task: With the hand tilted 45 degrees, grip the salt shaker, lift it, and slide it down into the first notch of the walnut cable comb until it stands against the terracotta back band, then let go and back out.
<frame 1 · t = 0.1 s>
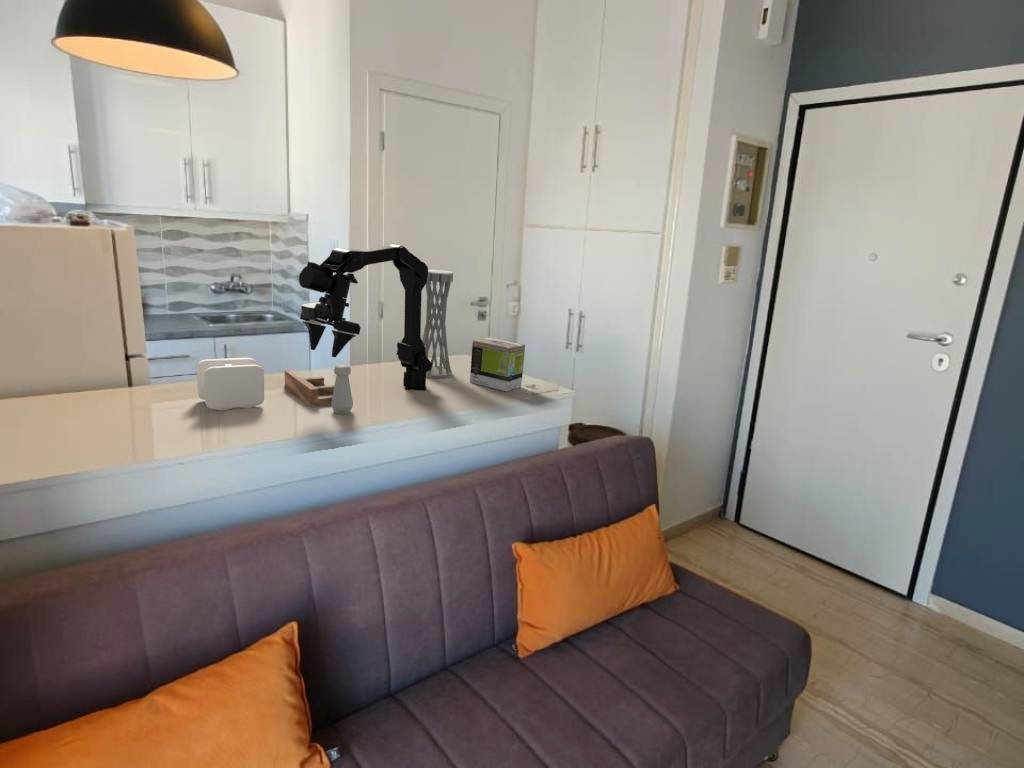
hand: (322, 353, 164), 15 cm above the table, fingers open, 9 cm apart
grey lattice tower: (432, 373, 213), on the table
salt shaker: (342, 412, 167), on the table
tea box: (495, 385, 206), on the table
cable organizer: (231, 404, 165), on the table
cable comb: (322, 398, 176), on the table
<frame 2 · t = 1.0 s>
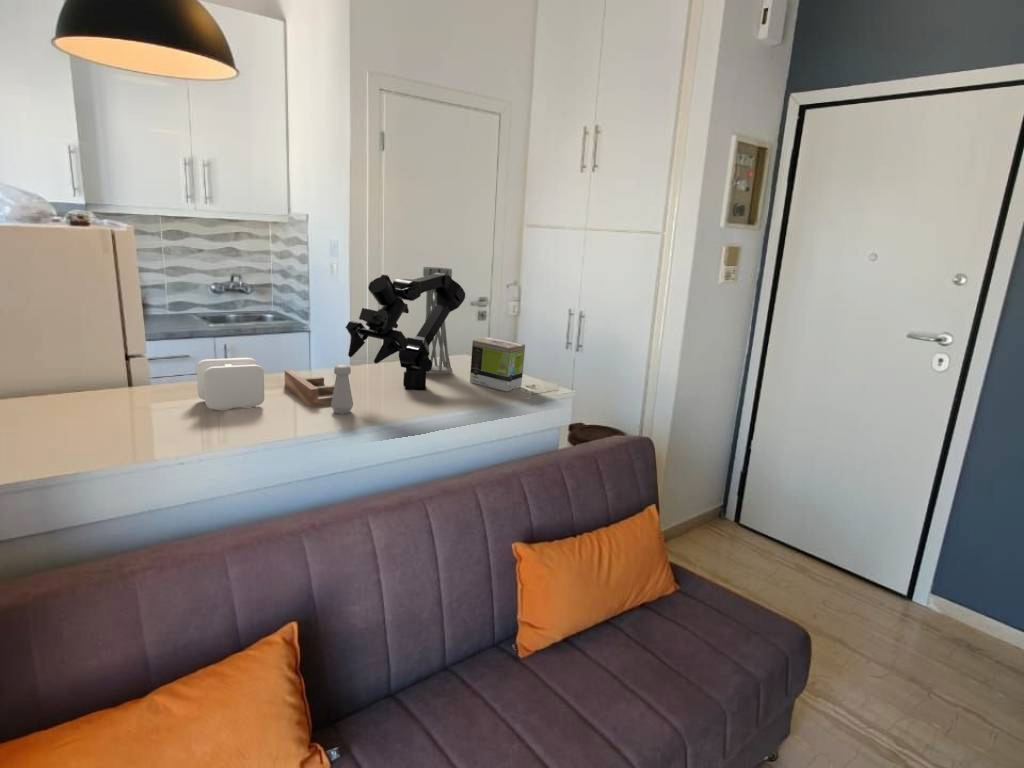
hand: (362, 359, 170), 13 cm above the table, fingers open, 9 cm apart
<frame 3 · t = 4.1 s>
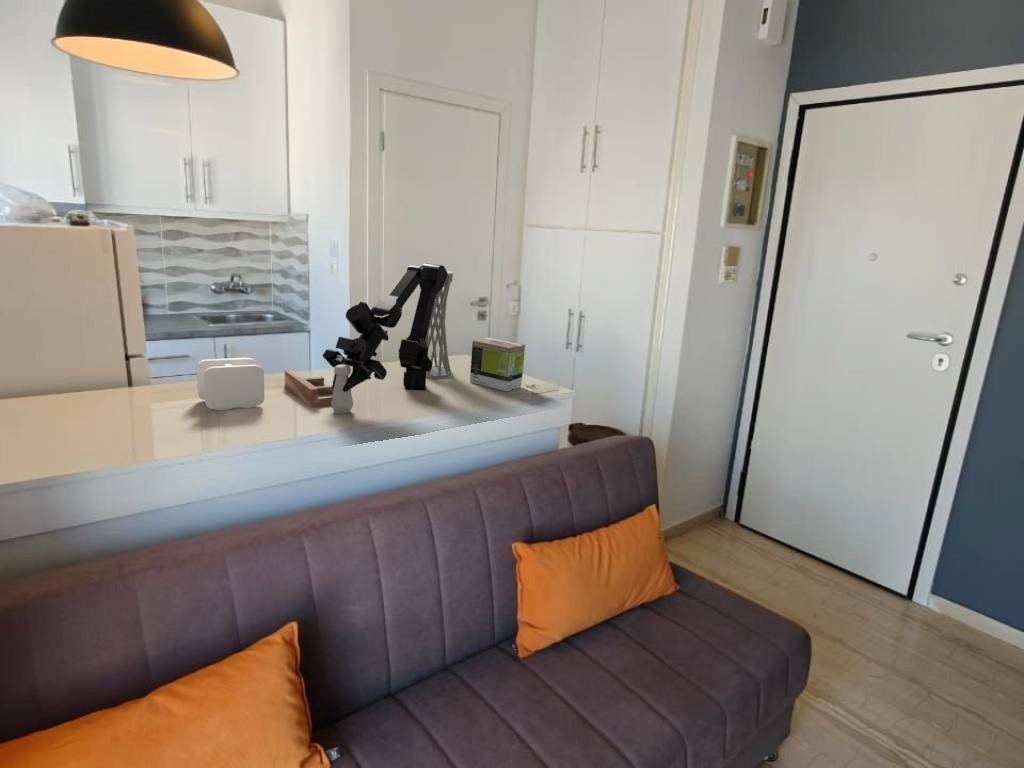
hand: (338, 389, 164), 7 cm above the table, fingers closed on salt shaker, 3 cm apart
salt shaker: (341, 412, 167), on the table, touching gripper
when the fingers open (8 cm above the table, at t = 8.3 s): salt shaker drops 1 cm, on the table.
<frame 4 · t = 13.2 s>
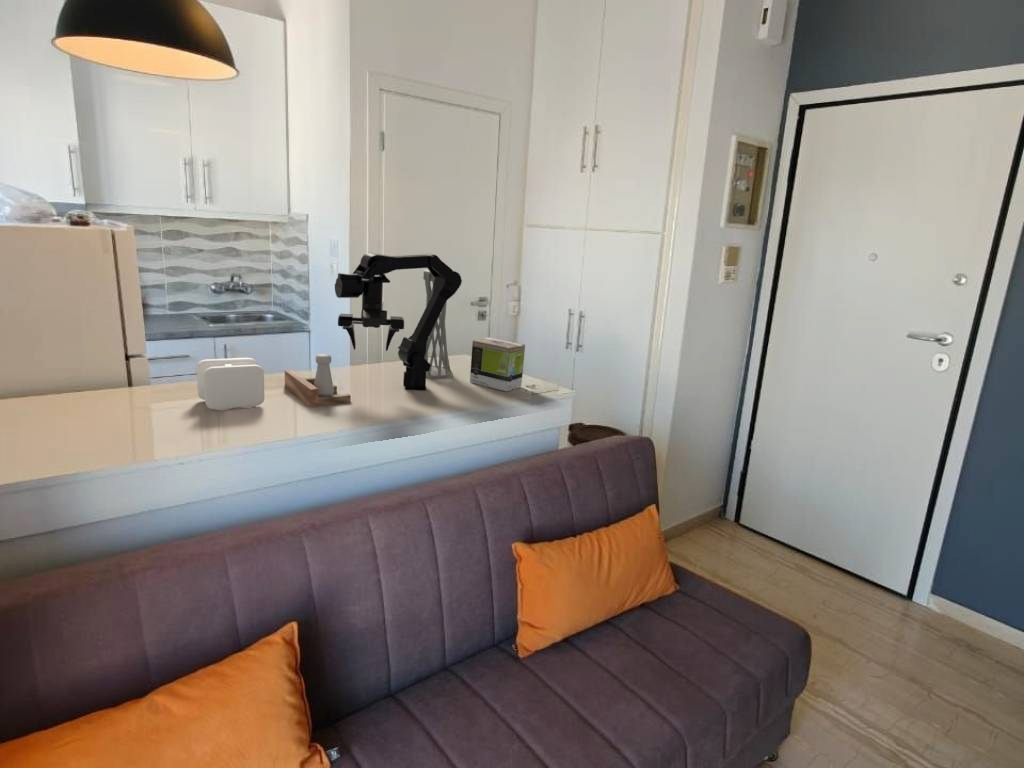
hand: (370, 350, 183), 13 cm above the table, fingers open, 9 cm apart
salt shaker: (323, 399, 176), on the table
everything else where it was.
at the end: salt shaker 0.2 cm off-centre on the cable comb, point 0.0 cm above the cable comb's base; salt shaker tilted 0°; the gripper is holding nothing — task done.
